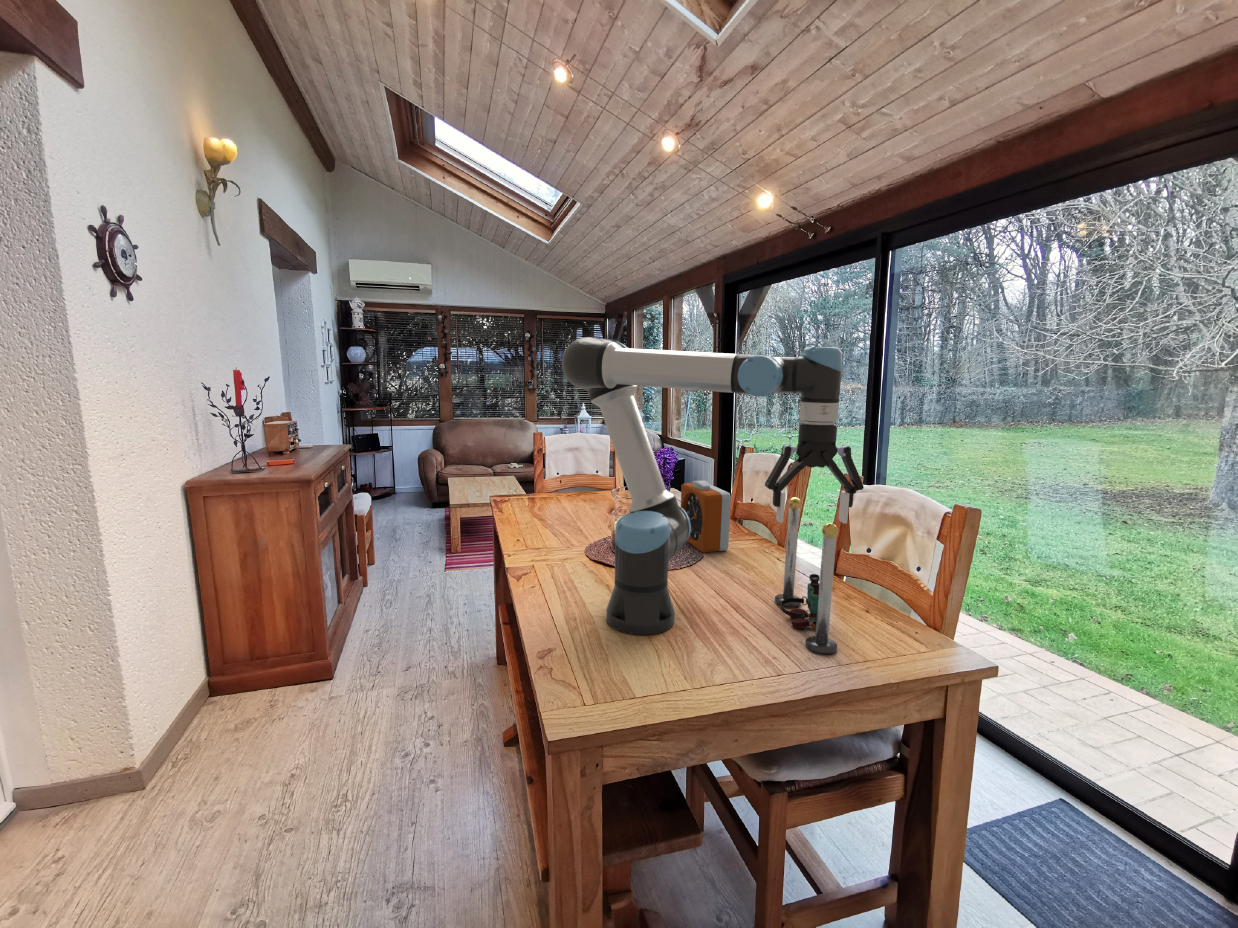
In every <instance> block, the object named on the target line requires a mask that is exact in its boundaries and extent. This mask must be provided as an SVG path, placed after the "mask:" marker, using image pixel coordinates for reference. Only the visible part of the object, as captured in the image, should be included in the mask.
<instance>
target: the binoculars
mask: <svg viewBox="0 0 1238 928" xmlns="http://www.w3.org/2000/svg"><path fill="white" fill-rule="evenodd" d="M809 581H810V582H809V583H808V584H807V594H806V595H807V597H806V596H803V595H802V597H801V598H800V597H799V598H787V599H784V600H783V601H781V606H780V609H781V611H782V612H783V614H785V615H787V616H788V617H790V619H791V627H792V628H795V629H804V628H808V627H811V628H813V629H814V630H816V623H817V610H818V597H819V584H820V583H819V582H820V574H816V573H812V574H810V575H809ZM789 602H798V603H801V605H802V606H807V609H808V610H805V609H802V608H791V610H787V608H785V607H782V605H784V604H785V603H789ZM809 620H811V623H810V622H809Z"/></svg>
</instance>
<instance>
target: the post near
mask: <svg viewBox="0 0 1238 928" xmlns="http://www.w3.org/2000/svg"><path fill="white" fill-rule="evenodd" d="M821 532H822V546H821V547H822V548H821V558H820V559H821V561H820V573H819V577H820V580H819V583H818V584H819V597H818V610H817V623H816V629H815V635H813V636H808V637H807V638H806V639H805V643H804V645H805V648H806V649H807V650H808V651H809V652H811V653H813V654H816V655H821V656H832V655H834V654H836V653H837V652H838V643H837V642H835V641H834V640H833V639H831V638H829V634H830V633H829V631H830V622H831V619H830V618H831V609H832V608H831V607H832V597H833V595H832V593H833V584H834V581H833V580H834V573H835V571H834V569H835V561H836V560H835V559H836V558H835V556H836V547H837V543H836V542H837V536H838V535H839V528H838V526H837V525H836V524H835V523H833V522H828V523H825V524H823V526H822V529H821Z"/></svg>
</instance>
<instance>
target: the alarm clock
mask: <svg viewBox="0 0 1238 928" xmlns="http://www.w3.org/2000/svg"><path fill="white" fill-rule="evenodd" d="M680 487H681V488H680V489H681V490H680V492H681V493H680V507H681V508H683V509H684V510H685V512H686V513H687V515H688V517H689V519H690V523H691V531H690V535H689V538H688V540H687V542H686V543H689V544H690V545H691V546H692V547H694V548H695V549H697V550H698V551H700V552H701V553H713V552H721V551H722V552H723V551H724V552H725V551H728V549H729V543H730V540H729V539H730V538H729V537H730V524H731V522H730V518H731V503H732V502H731V500H732V497H731V494H730V492H728V491H726V490H723V489H721V488H719V487H717V486H714V485H712V484H710V483H709V482H708V481H707V480H693V481H692V482H685V483H682V484H681V486H680Z"/></svg>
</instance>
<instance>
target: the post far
mask: <svg viewBox="0 0 1238 928" xmlns="http://www.w3.org/2000/svg"><path fill="white" fill-rule="evenodd" d="M787 506H788V513H787V514H788V518H787V532H786V547H785V558H784V559H785V562H784V563H785V564H784V573H783V575H784V576H783V588H782V591H783V592H782V593H780V594H777V595H775V597H774V603H775V604H776V605H777V606H779V607H781V601H783V600H784V599H787V598H800V597H799V596H797V595H794V592H795V579H796V568H797V567H796V564H797V551H798V550H797V549H798V540H799V539H798V538H799V537H798V535H799V524H800V523H799V522H800V509H801V506H802V501H801V499H800V498H799V497H797V496H796V497H795V496H794V497H793V496H792V497H791V498H789V500H788V501H787ZM801 605H802V603H798V602H789V603H785V604H784V605H782V607H783V608H785V609H798V608H800V607H801Z"/></svg>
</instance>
